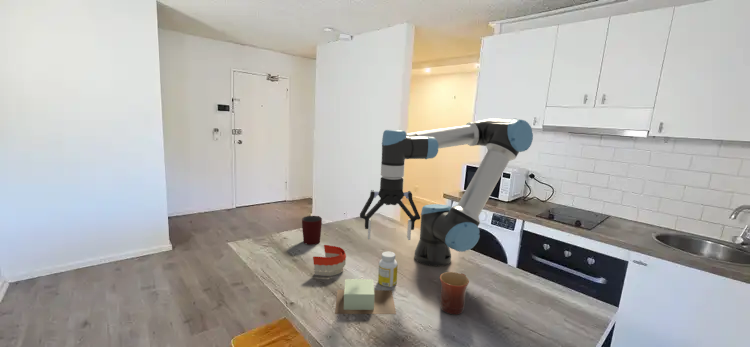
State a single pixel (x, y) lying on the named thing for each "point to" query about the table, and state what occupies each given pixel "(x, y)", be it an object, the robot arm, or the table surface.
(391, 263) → the pill bottle
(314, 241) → the mug
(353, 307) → the brick
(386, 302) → the plate
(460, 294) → the mug
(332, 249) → the denture model
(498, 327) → the table surface
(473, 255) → the table surface
